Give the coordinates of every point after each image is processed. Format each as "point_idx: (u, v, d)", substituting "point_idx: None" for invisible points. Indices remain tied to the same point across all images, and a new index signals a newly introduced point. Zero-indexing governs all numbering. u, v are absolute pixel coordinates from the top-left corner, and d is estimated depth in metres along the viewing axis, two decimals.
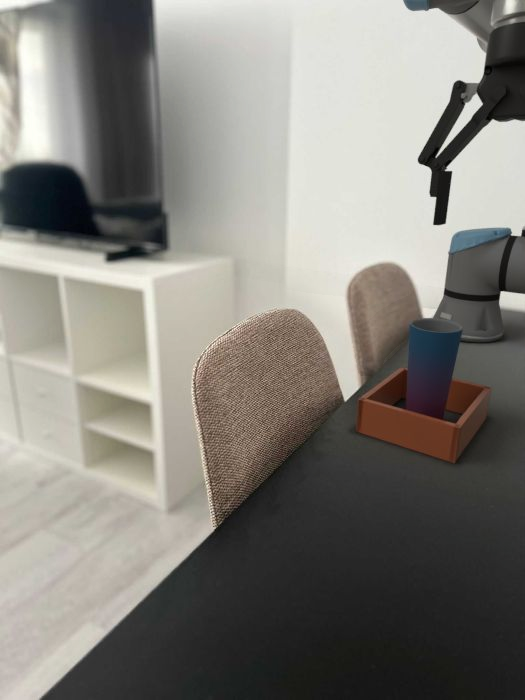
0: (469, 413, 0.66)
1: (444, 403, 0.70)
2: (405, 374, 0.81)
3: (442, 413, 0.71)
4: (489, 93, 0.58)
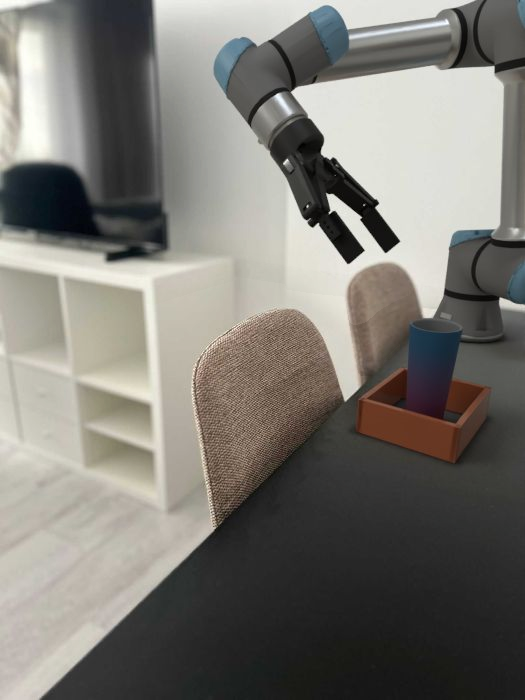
0: (469, 413, 0.66)
1: (444, 403, 0.70)
2: (405, 374, 0.81)
3: (442, 413, 0.71)
4: None
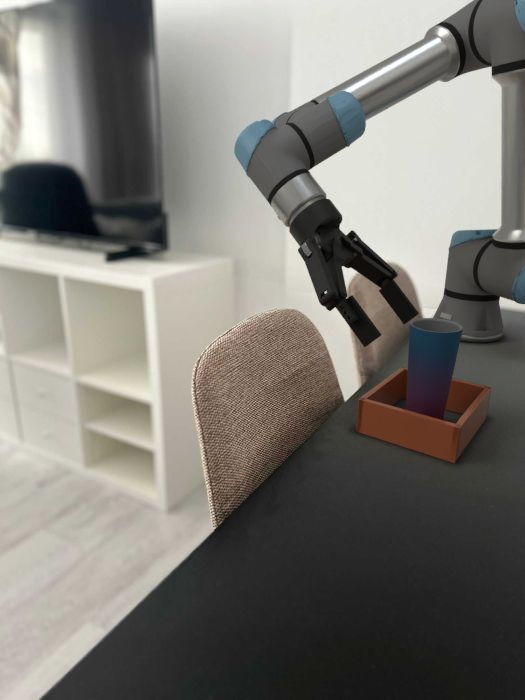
0: (469, 413, 0.66)
1: (444, 403, 0.70)
2: (405, 374, 0.81)
3: (442, 413, 0.71)
4: None
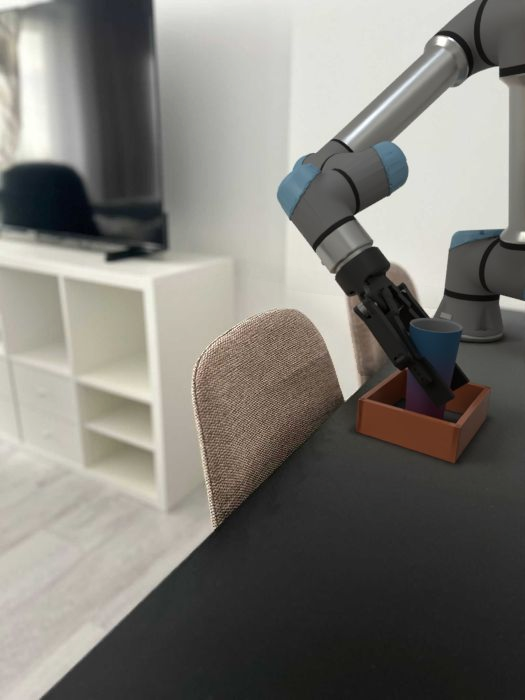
0: (469, 413, 0.66)
1: None
2: (405, 374, 0.81)
3: (442, 413, 0.71)
4: None
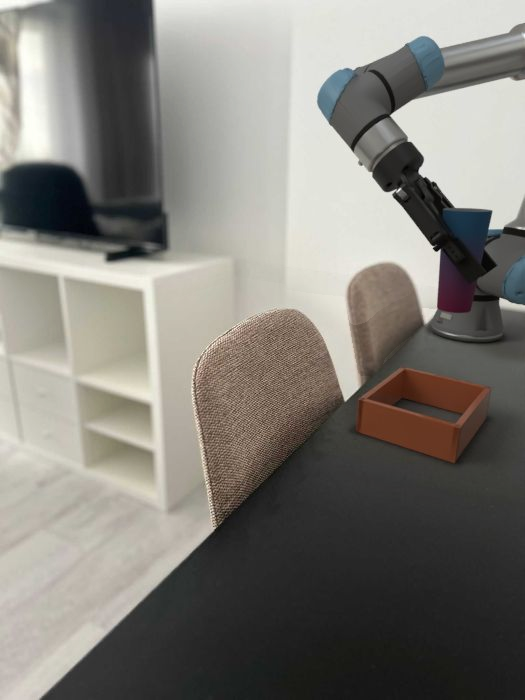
0: (469, 413, 0.66)
1: (474, 284, 0.77)
2: (405, 374, 0.81)
3: (472, 294, 0.77)
4: None
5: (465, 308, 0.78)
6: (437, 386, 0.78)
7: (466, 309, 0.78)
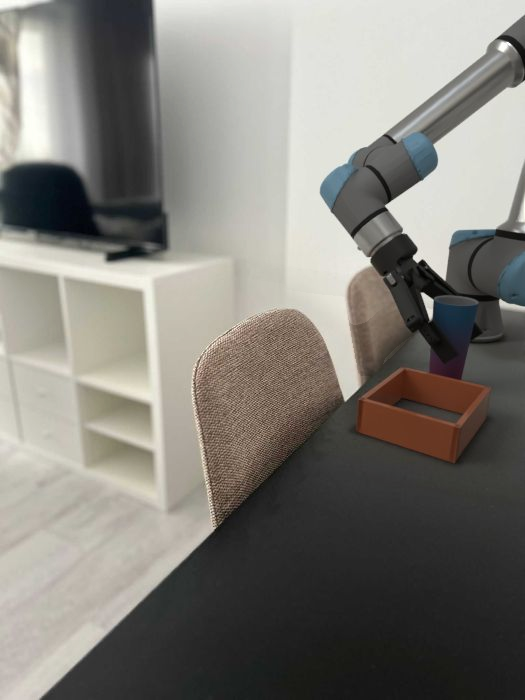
0: (469, 413, 0.66)
1: (462, 366, 0.84)
2: (405, 374, 0.81)
3: (460, 375, 0.84)
4: None
5: None
6: (437, 386, 0.78)
7: None
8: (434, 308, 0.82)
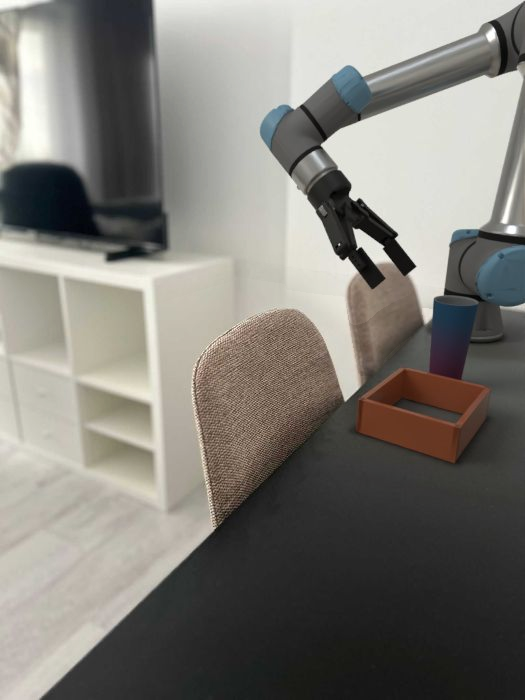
0: (469, 413, 0.66)
1: (462, 366, 0.84)
2: (405, 374, 0.81)
3: (460, 375, 0.84)
4: None
5: None
6: (437, 386, 0.78)
7: None
8: (434, 308, 0.82)
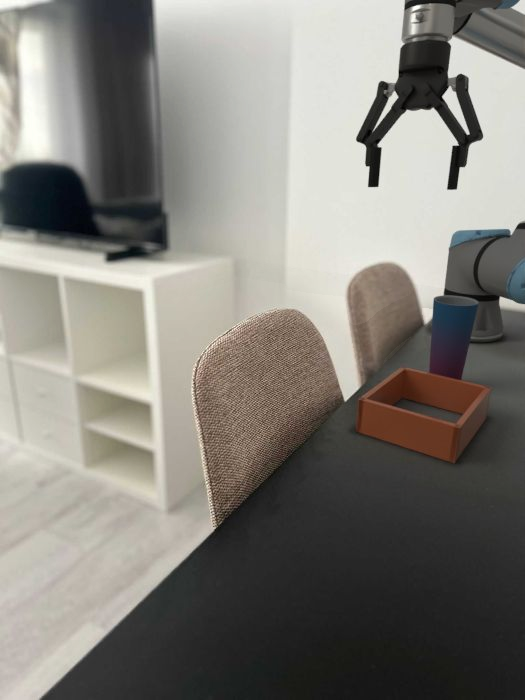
0: (469, 413, 0.66)
1: (462, 366, 0.84)
2: (405, 374, 0.81)
3: (460, 375, 0.84)
4: (402, 90, 0.81)
5: None
6: (437, 386, 0.78)
7: None
8: (434, 308, 0.82)
